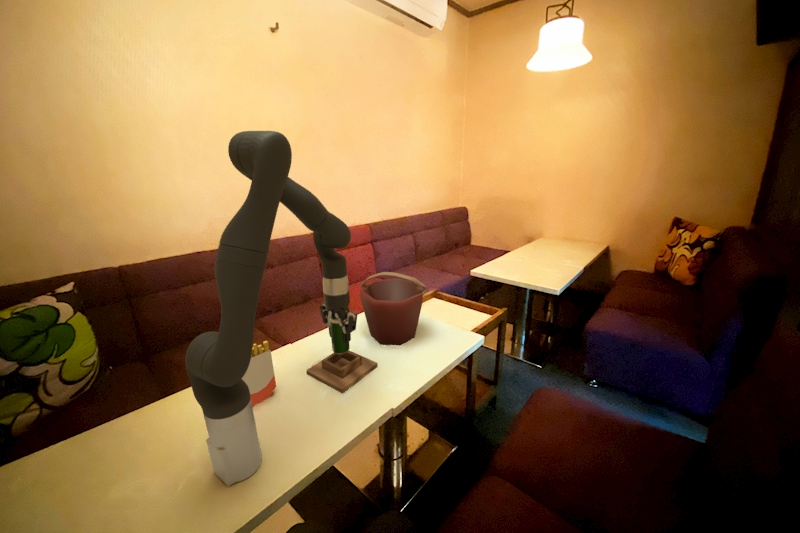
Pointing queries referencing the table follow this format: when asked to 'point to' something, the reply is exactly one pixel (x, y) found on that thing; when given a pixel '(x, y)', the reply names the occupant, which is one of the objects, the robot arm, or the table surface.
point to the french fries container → (260, 374)
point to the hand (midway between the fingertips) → (340, 339)
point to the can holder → (342, 370)
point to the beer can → (338, 337)
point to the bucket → (392, 307)
